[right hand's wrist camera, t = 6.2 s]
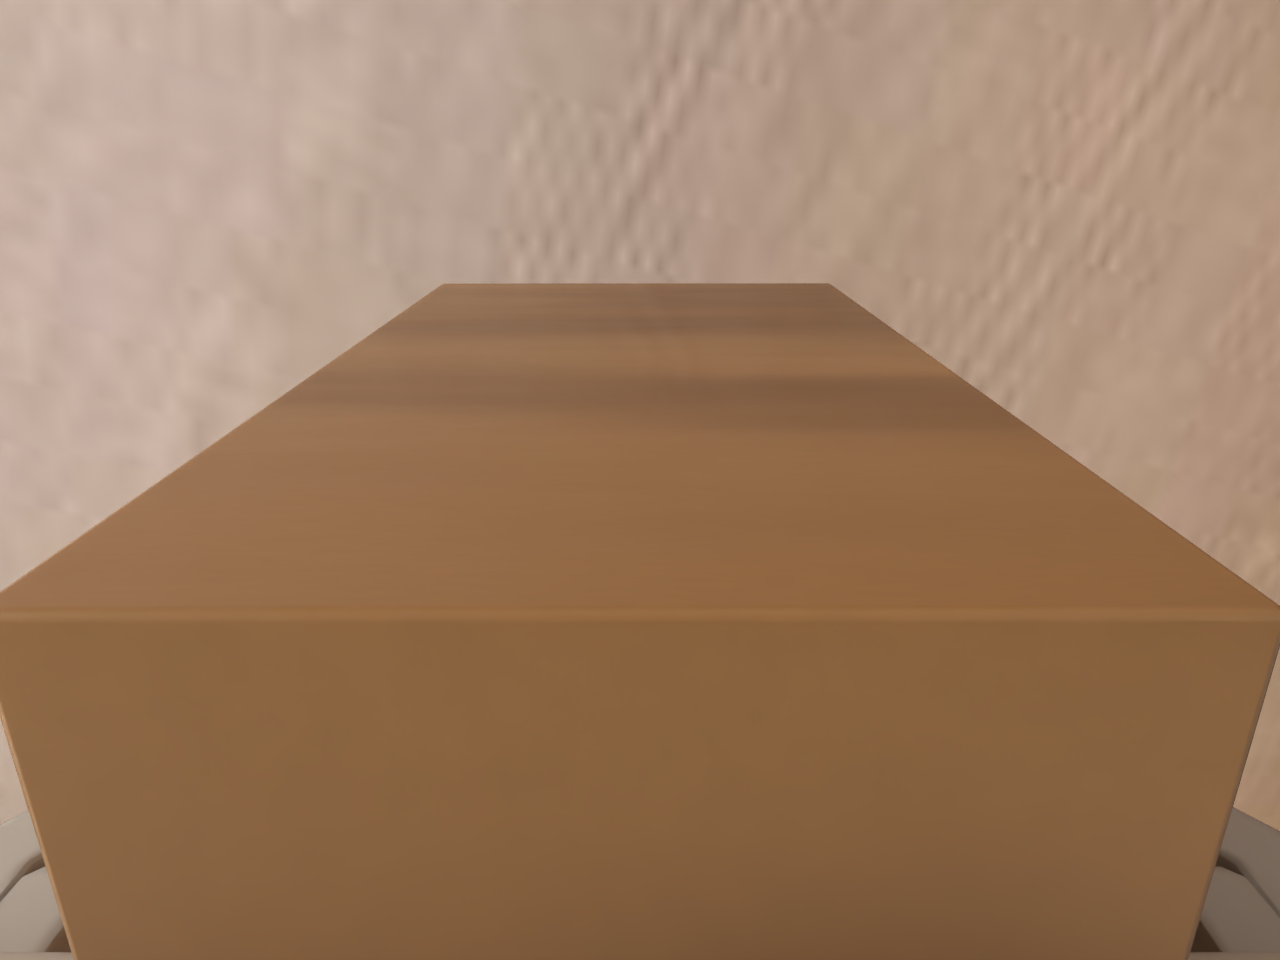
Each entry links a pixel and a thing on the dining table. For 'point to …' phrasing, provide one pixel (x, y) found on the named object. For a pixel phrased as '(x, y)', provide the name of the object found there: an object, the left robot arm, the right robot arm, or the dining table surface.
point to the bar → (632, 660)
